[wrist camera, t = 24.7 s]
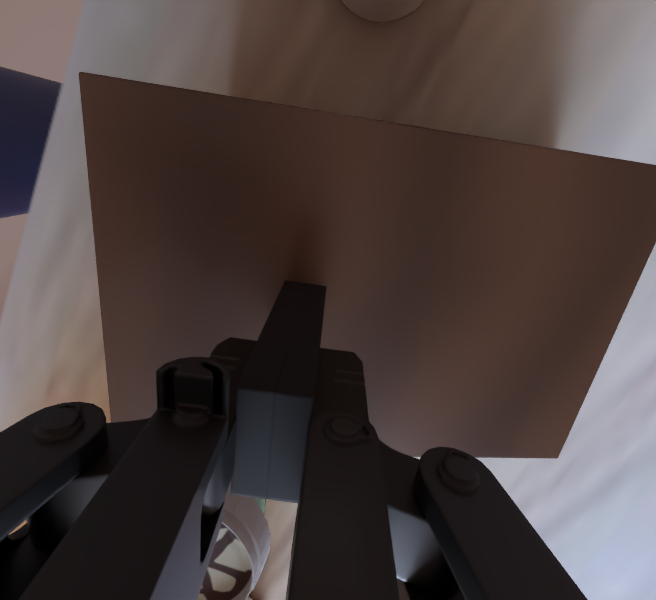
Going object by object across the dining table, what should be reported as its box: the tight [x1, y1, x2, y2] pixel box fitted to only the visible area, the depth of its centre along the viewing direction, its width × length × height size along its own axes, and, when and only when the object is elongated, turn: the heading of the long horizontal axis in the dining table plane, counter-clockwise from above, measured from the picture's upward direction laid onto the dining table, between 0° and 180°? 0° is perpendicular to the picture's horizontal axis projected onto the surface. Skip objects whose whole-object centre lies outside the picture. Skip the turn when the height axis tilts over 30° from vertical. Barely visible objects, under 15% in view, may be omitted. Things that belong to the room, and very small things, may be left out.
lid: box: [79, 72, 656, 458], centre depth 15 cm, size 20×14×1 cm, turn 82°
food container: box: [197, 482, 270, 600], centre depth 26 cm, size 12×6×10 cm, turn 164°
